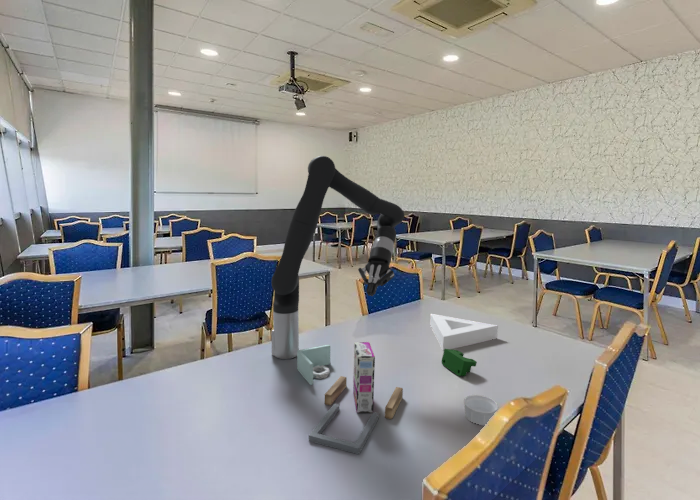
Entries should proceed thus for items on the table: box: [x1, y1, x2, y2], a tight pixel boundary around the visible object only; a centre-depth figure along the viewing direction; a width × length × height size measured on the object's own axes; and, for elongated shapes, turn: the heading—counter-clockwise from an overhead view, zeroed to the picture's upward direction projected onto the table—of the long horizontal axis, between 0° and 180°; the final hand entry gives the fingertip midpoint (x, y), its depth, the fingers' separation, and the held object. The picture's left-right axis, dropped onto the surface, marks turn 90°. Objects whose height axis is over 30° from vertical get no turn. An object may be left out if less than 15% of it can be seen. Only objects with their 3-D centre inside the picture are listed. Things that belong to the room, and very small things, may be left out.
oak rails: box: [324, 375, 404, 420], centre depth 110 cm, size 20×12×3 cm, turn 69°
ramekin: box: [463, 394, 499, 427], centre depth 103 cm, size 9×9×4 cm
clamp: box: [441, 349, 478, 377], centre depth 131 cm, size 12×6×9 cm, turn 15°
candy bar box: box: [352, 341, 376, 414], centre depth 108 cm, size 11×5×16 cm, turn 5°
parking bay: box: [308, 403, 380, 455], centre depth 97 cm, size 13×16×2 cm
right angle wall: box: [296, 344, 331, 386], centre depth 127 cm, size 12×12×8 cm
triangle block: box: [429, 313, 499, 352], centre depth 158 cm, size 30×26×6 cm
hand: (370, 294), depth 123 cm, fingers closed
